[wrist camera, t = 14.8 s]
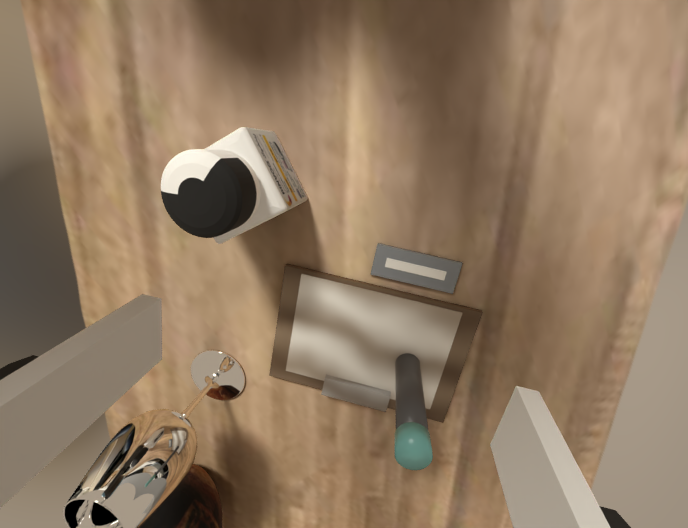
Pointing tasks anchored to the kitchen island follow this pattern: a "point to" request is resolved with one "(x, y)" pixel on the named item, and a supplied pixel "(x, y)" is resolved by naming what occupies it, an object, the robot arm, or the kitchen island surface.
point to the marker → (411, 415)
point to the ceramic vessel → (190, 504)
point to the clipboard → (368, 339)
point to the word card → (416, 268)
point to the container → (230, 185)
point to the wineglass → (149, 455)
